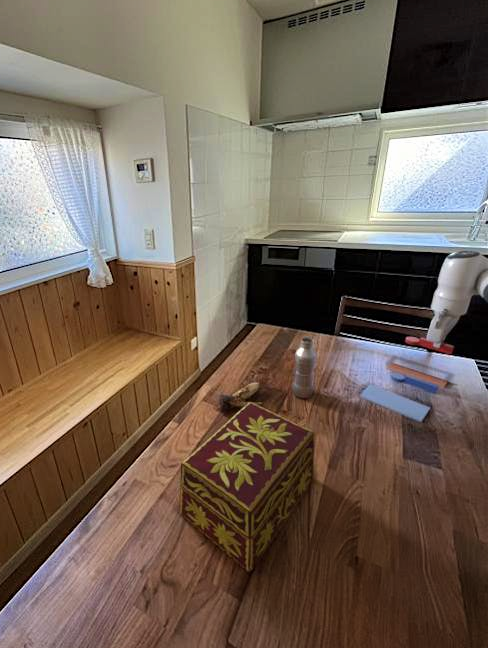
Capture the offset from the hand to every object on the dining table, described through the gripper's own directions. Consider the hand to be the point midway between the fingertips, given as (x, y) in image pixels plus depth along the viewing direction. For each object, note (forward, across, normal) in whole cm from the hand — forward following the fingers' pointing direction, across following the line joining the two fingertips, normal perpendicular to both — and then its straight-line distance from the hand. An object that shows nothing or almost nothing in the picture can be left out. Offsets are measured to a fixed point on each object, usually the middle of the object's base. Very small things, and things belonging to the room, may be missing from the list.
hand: (438, 344), depth 108 cm
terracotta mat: (+13, +1, +3) cm, 13 cm away
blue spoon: (+13, -7, +4) cm, 15 cm away
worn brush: (+13, -53, +36) cm, 65 cm away
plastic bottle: (+13, -36, +26) cm, 46 cm away
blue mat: (+13, -21, +4) cm, 25 cm away
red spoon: (+2, 0, +4) cm, 4 cm away
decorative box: (+13, -77, +14) cm, 80 cm away
